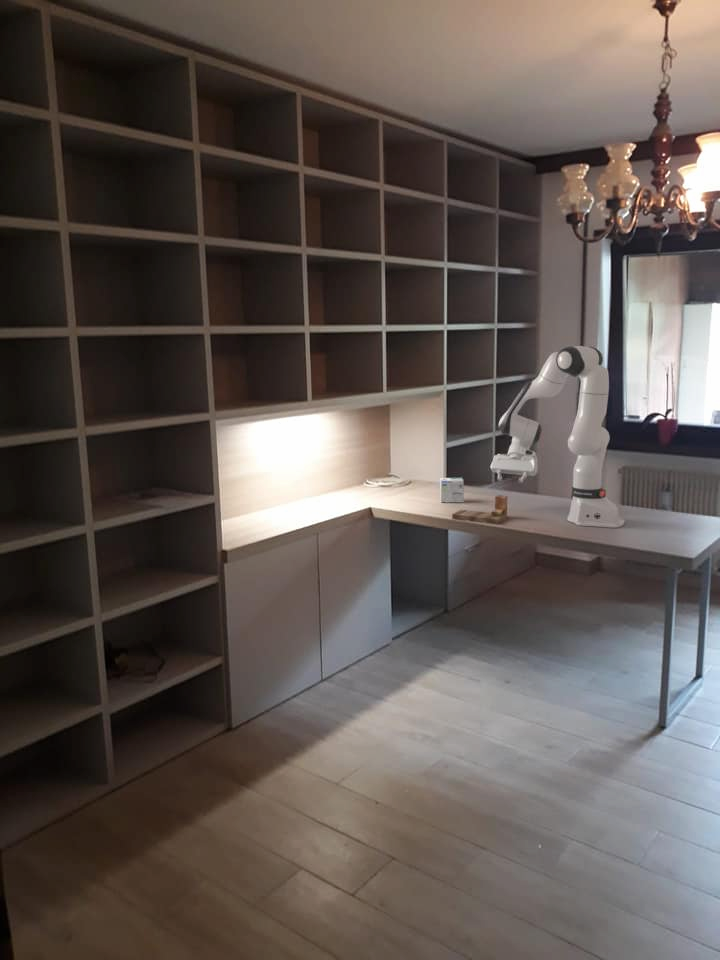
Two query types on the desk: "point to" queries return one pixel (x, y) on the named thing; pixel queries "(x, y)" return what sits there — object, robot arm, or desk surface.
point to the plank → (478, 516)
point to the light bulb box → (451, 490)
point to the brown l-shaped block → (500, 505)
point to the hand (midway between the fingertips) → (509, 480)
